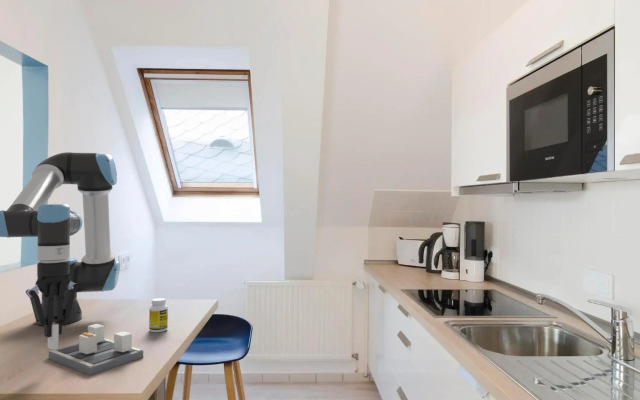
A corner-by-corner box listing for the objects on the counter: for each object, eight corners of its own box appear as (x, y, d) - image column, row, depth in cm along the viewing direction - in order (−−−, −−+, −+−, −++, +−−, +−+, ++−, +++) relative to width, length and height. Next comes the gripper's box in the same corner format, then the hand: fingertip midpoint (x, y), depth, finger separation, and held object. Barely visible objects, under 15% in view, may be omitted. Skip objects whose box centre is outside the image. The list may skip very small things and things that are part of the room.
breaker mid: (79, 351, 125) (79, 334, 125) (89, 348, 128) (89, 331, 128) (86, 354, 123) (86, 336, 123) (96, 351, 126) (96, 333, 126)
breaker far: (87, 341, 135) (87, 326, 135) (97, 338, 137) (97, 323, 137) (94, 343, 132) (94, 328, 132) (104, 340, 135) (104, 325, 135)
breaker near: (114, 349, 127) (114, 333, 127) (123, 346, 130) (123, 331, 130) (122, 352, 125) (122, 336, 125) (131, 349, 127) (131, 333, 127)
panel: (48, 358, 127) (48, 351, 127) (100, 343, 140) (101, 336, 140) (90, 375, 115) (90, 367, 115) (143, 357, 128) (143, 349, 128)
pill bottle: (161, 333, 151) (161, 301, 151) (145, 332, 152) (145, 300, 152) (171, 328, 157) (171, 297, 157) (155, 327, 158) (155, 297, 158)
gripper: (34, 264, 110) (33, 357, 110) (85, 259, 121) (84, 343, 121) (20, 262, 114) (19, 352, 114) (70, 257, 125) (70, 339, 125)
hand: (52, 347), depth 117 cm, fingers closed
